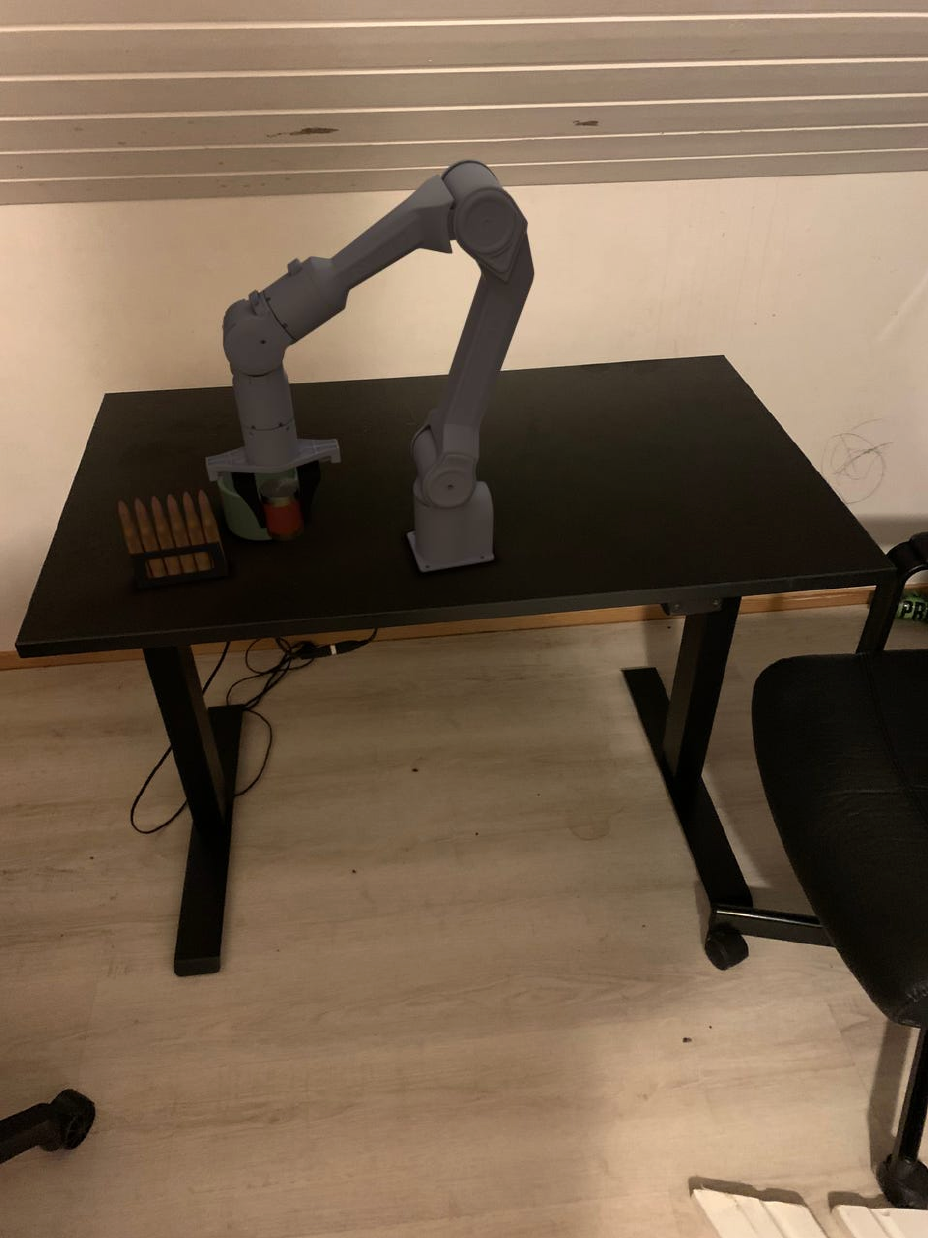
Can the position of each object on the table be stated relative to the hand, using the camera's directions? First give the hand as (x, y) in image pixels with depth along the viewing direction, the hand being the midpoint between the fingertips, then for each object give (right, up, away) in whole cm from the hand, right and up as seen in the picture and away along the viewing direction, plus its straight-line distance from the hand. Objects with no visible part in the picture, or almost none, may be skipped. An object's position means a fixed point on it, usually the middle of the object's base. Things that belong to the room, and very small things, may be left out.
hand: (284, 520), depth 102 cm
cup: (-5, +2, +13) cm, 14 cm away
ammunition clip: (-13, -7, +4) cm, 15 cm away
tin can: (0, -1, +1) cm, 1 cm away
